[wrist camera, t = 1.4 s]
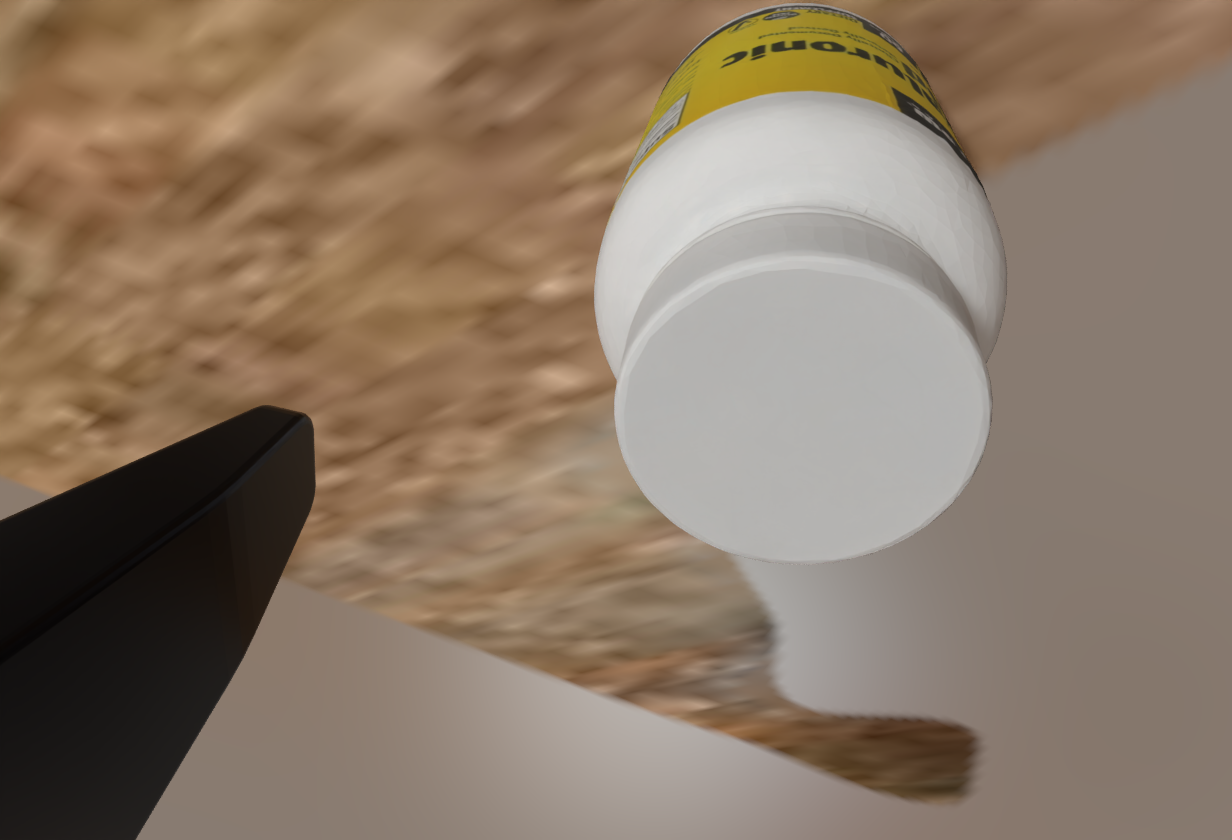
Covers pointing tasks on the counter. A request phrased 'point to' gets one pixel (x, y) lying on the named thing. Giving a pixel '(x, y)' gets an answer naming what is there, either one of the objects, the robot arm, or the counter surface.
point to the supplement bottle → (800, 293)
